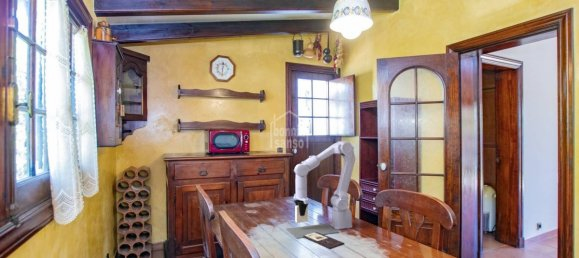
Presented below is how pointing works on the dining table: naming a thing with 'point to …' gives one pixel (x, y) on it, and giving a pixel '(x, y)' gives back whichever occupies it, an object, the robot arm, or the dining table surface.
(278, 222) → the dining table surface
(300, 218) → the tile
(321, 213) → the dining table surface
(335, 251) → the dining table surface
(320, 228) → the mat
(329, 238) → the chocolate bar
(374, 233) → the dining table surface
